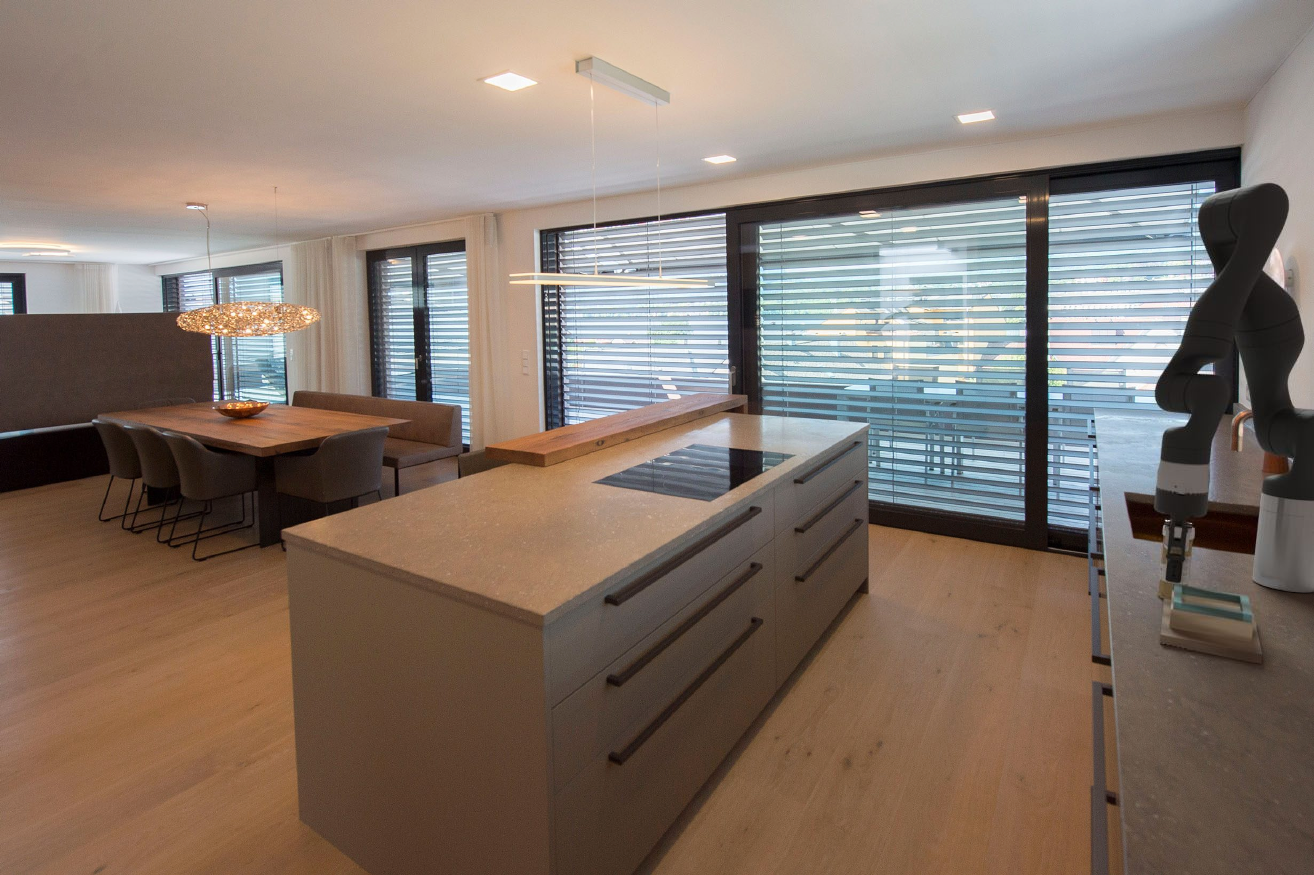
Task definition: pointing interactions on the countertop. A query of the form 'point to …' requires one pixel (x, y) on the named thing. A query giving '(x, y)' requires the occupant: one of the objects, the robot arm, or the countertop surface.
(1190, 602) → the build board
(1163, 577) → the sprinkles bottle
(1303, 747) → the countertop surface
